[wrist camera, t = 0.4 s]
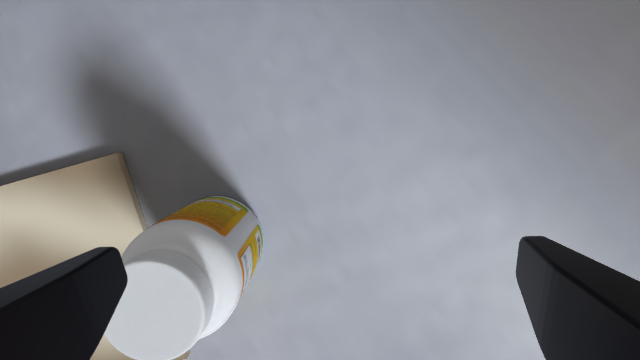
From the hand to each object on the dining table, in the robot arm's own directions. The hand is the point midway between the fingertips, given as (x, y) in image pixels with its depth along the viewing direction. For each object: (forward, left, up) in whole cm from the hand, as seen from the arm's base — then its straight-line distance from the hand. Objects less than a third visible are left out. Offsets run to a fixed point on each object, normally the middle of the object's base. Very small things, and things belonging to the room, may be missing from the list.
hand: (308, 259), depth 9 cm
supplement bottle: (-2, +7, -15) cm, 16 cm away
